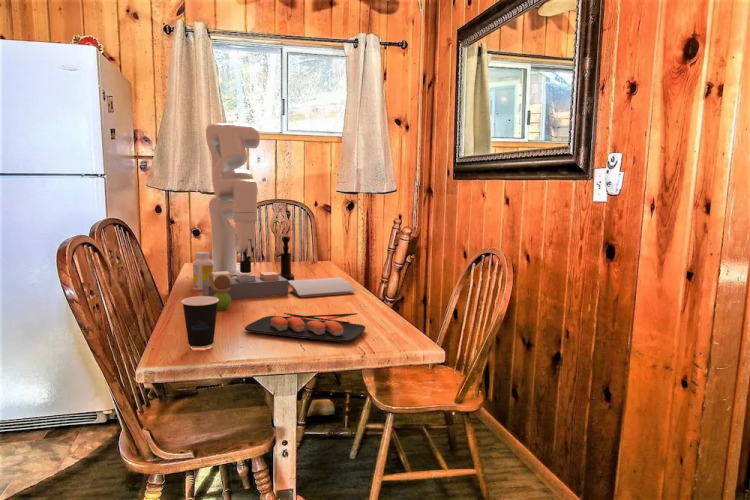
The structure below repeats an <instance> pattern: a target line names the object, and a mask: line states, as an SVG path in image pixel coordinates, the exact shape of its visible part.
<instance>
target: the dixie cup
mask: <svg viewBox="0 0 750 500" xmlns="http://www.w3.org/2000/svg"><path fill="white" fill-rule="evenodd" d="M218 301H219V299H218V298H216V297H210V296H203V295H200V296H198V295H197V296H192V297H191V296H190V297H186V298H184V299H182V300H181V304H182V307H183V313H184V321H185V322H184V323H185V330H186V336H187V344H188V346H189V348H190V347H192V348H207V347H210V346H212V347H213V344H214V342H215V333H216V332H215V330H216V322H217V321H216V320H217V311H218V309H217V302H218Z"/></svg>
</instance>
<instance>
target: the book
mask: <svg viewBox="0 0 750 500" xmlns="http://www.w3.org/2000/svg"><path fill="white" fill-rule="evenodd" d="M288 282H289V283H288V284H290V288H291V289H292V290H291V291H292V293H295V294H296V295H297V296H299V297H300V298H308V297H321V296H334V295H335V296H336V295H348V293H349V294H351V292H356V288H354V286H353V285H352V284H351V283H350V282H349V281H347V280H346V279H345V278H343V277H341V276H339V277H328V278H327V277H326V278H324V277H323V278H309V279H294V280H291V281H288Z"/></svg>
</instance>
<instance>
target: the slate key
mask: <svg viewBox="0 0 750 500" xmlns="http://www.w3.org/2000/svg"><path fill="white" fill-rule="evenodd" d="M255 277H256V275H255V274H253V273H251V272H250V273H240V274H236V275H235V278H236V279H237V281H238V282H253V281H255Z"/></svg>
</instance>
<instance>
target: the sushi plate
mask: <svg viewBox="0 0 750 500" xmlns="http://www.w3.org/2000/svg"><path fill="white" fill-rule="evenodd" d="M283 314H284V315H288V316H280V315H267V316H264V317H262V318H260V319H257V320H255V321H253V322H250V323H249V324H247V325H246V326H245V327H244V331H247V332H250V333H258V334H267V335H274V334H275V336H276V335H277V336H283V335H284V336H285V337H292V336H293V337H294V338H301V337H302V339H310V338H311V340H319V339H320V340H319V341H321V340H322V341H328V340H329V342H341V343H342V342H343V343H344V342H346V343H347V342H351V341H354V340H356V339H357V338H358V337H360V336H361V335H362V334H363V333H364V331H365V330H366V326H365V325H363V324H358V323H351V322H350V321H344V320H338V319H337V320H336V319H329V318H328V317H346V316H347V317H348V316H353V315H358V313H337V314H336V313H334V314H317V315H302V314H294V313H289V312H288V313H286V312H284V313H283ZM322 317H323V318H322ZM324 317H325V318H324ZM326 317H327V318H326ZM284 336H283V337H284ZM293 337H292V338H293Z"/></svg>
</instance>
